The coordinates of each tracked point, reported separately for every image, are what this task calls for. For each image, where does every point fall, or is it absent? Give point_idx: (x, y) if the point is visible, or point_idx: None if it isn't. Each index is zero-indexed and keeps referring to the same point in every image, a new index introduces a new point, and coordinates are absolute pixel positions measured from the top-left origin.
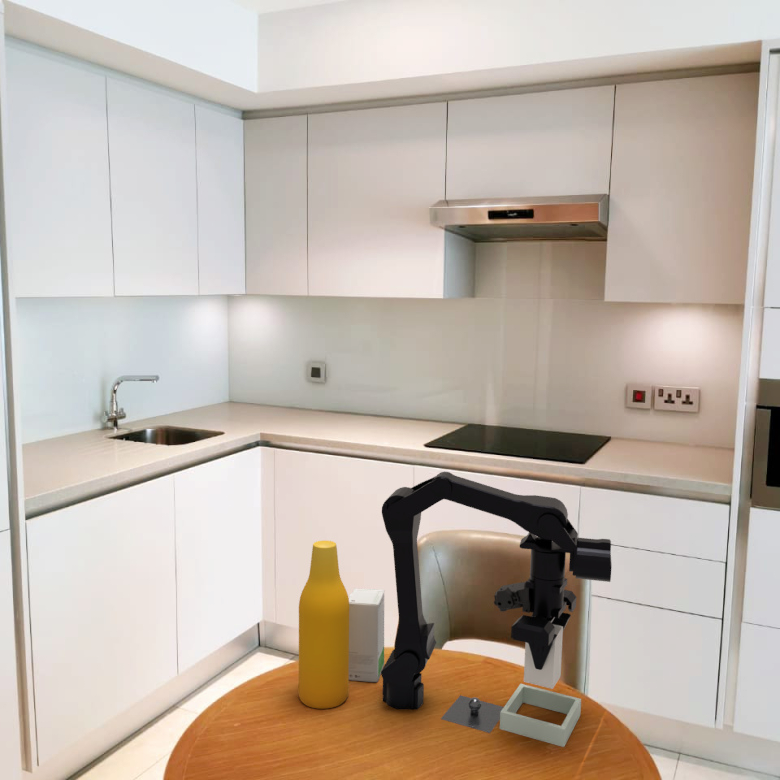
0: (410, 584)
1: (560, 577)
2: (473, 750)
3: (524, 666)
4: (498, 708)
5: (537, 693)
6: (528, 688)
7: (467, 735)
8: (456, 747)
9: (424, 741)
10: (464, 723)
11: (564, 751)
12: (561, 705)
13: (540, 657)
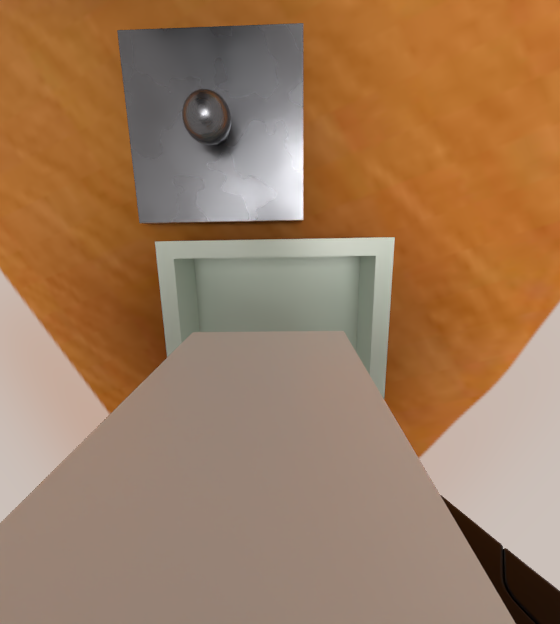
0: None
1: None
2: (69, 204)
3: (159, 365)
4: (285, 193)
5: (368, 308)
6: (373, 275)
7: (124, 156)
8: (50, 152)
9: (13, 41)
10: (140, 125)
11: None
12: None
13: None
